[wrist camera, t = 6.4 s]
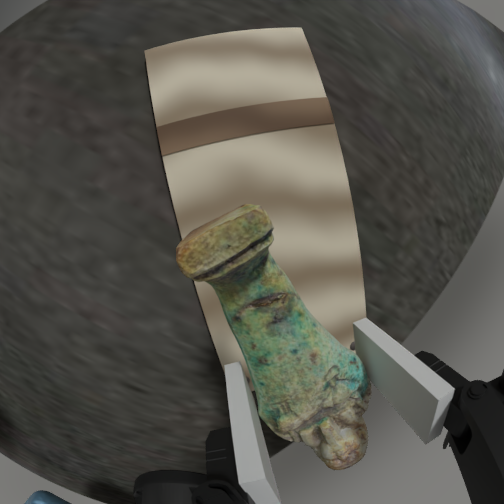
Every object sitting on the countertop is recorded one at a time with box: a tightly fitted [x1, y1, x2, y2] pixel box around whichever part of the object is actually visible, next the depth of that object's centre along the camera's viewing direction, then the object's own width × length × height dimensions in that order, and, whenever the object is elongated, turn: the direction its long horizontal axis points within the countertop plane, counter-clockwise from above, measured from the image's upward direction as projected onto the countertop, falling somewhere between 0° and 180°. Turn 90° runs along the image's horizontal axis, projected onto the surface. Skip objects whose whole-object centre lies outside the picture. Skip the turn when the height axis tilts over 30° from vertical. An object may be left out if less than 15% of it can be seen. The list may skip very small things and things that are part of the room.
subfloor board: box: [145, 28, 366, 391], centre depth 21 cm, size 32×14×1 cm, turn 13°
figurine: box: [176, 204, 371, 470], centre depth 11 cm, size 6×15×4 cm, turn 20°
